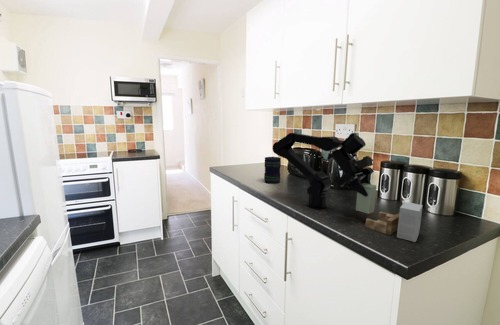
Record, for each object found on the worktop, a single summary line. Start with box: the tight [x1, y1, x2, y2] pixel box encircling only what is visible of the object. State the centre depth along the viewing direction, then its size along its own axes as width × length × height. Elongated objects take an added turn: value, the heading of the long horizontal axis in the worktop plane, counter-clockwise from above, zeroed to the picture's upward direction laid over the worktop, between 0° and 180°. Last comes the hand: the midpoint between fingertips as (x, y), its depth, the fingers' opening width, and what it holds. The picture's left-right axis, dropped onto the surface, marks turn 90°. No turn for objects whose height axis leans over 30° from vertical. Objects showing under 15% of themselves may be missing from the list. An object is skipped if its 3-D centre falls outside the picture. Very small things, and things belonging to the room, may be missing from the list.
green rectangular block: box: [355, 183, 377, 215], centre depth 99 cm, size 5×5×10 cm
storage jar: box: [263, 156, 282, 185], centre depth 158 cm, size 10×10×15 cm
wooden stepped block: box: [365, 211, 399, 236], centre depth 94 cm, size 8×12×5 cm
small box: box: [396, 201, 423, 243], centre depth 86 cm, size 8×6×10 cm
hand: (370, 194), depth 97 cm, fingers closed on green rectangular block, 4 cm apart
